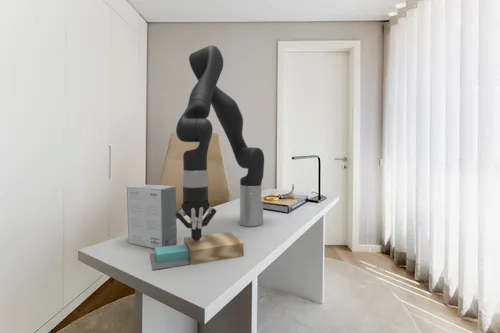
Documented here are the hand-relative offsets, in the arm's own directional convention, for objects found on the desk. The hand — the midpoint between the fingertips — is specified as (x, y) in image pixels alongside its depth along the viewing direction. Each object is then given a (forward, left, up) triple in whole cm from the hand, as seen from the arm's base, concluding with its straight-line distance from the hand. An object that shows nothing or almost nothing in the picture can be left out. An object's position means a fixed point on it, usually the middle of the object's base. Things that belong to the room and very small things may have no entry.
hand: (196, 239), depth 85 cm
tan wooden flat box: (-5, 0, -5) cm, 7 cm away
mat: (+8, 0, -5) cm, 10 cm away
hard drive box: (+12, -16, -5) cm, 20 cm away
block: (+7, 0, -4) cm, 9 cm away
